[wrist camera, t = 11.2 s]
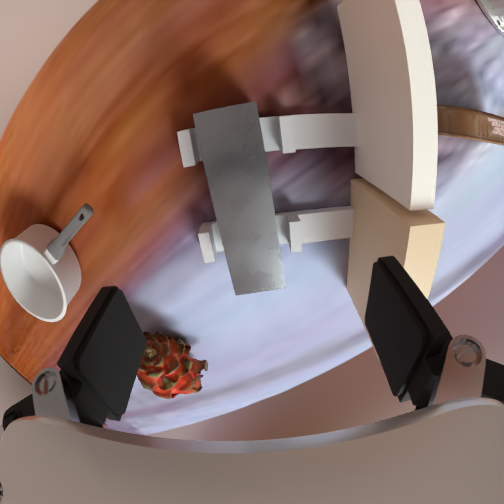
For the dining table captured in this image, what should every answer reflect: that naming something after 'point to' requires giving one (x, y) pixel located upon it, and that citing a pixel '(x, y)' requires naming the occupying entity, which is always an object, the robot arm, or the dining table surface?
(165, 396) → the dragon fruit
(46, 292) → the saucepan
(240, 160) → the grey metal block
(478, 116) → the tin
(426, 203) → the white rack
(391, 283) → the robot arm
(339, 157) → the dining table surface
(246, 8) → the dining table surface
